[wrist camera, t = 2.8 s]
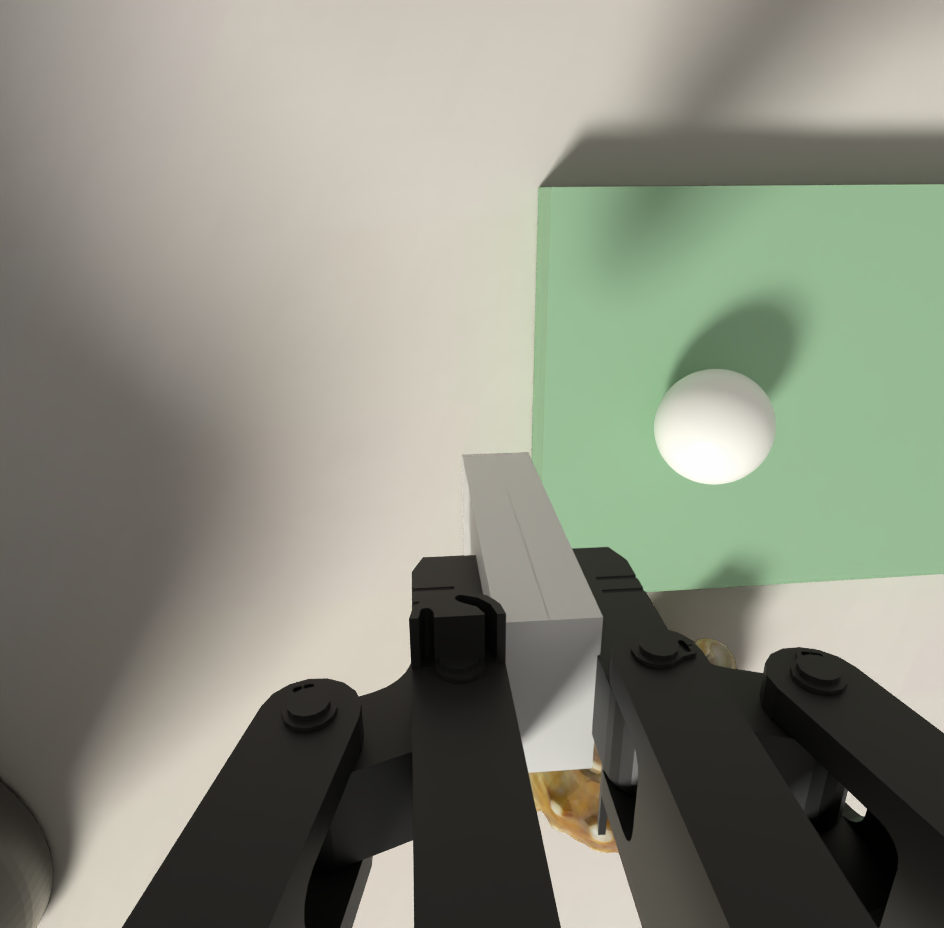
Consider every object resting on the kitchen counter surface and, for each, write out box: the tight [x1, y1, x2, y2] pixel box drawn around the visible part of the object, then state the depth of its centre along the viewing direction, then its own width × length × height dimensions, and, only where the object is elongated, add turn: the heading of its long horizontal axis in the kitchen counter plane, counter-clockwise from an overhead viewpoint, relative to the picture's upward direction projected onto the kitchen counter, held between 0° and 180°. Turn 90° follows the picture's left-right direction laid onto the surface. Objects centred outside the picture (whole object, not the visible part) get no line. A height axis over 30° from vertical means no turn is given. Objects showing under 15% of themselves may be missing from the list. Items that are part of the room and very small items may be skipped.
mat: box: [532, 184, 944, 592], centre depth 25 cm, size 28×14×2 cm, turn 90°
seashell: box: [529, 638, 737, 853], centre depth 28 cm, size 9×8×10 cm
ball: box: [654, 369, 776, 485], centre depth 22 cm, size 4×4×4 cm
